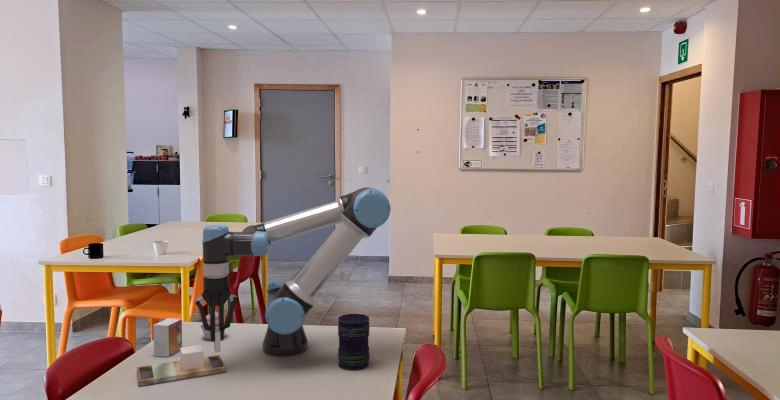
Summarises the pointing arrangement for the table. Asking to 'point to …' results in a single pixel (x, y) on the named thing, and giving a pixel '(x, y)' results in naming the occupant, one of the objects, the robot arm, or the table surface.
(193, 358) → the block
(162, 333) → the small box
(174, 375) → the board
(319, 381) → the table surface
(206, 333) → the cupcake
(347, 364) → the storage jar
